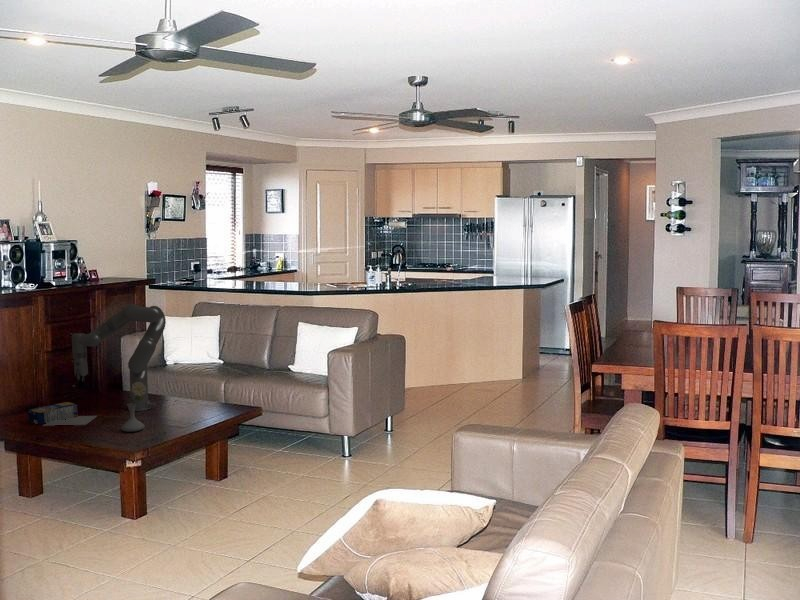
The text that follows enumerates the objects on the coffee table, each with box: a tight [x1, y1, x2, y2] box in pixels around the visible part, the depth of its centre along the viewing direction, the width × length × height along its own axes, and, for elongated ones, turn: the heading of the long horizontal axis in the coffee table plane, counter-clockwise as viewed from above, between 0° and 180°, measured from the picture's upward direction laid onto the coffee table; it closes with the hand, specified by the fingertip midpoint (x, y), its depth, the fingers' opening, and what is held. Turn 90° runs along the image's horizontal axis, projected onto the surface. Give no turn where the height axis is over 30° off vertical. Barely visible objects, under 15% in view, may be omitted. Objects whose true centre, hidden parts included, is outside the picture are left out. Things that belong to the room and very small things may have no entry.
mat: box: [41, 415, 98, 427], centre depth 449 cm, size 22×20×1 cm
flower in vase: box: [120, 382, 146, 433], centre depth 426 cm, size 13×11×25 cm
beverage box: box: [27, 401, 79, 425], centre depth 452 cm, size 7×11×22 cm
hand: (81, 388), depth 468 cm, fingers closed
